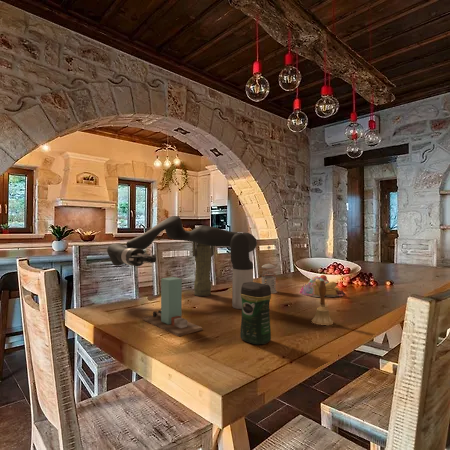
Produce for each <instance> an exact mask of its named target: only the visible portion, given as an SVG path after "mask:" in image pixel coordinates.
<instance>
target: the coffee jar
mask: <svg viewBox="0 0 450 450" xmlns="http://www.w3.org/2000/svg"><path fill="white" fill-rule="evenodd" d="M271 298H272V293H271V289H270V286H269V285H267V284H262V282H261V283H260V282H255V281H253V282H246V283H243V284H242V287H241V299H242V309H241V323H240V336H239V337H240V339H241V340H242V341H244V342H247V343H250V344H252V345H265V344H268V343H269V342H270V341H271V340H272V334H271V333H272V331H271V318H270V302H271V301H270V300H271Z"/></svg>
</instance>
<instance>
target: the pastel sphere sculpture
mask: <svg viewBox="0 0 450 450" xmlns="http://www.w3.org/2000/svg"><path fill="white" fill-rule="evenodd" d="M327 277H328V276H326V275H324V274H322V275H320V276H313V277H311V279H309V281H307V284H306V283H305V284H304V283H302V286H301V288H300V290H299V294H301V293H302V295H303V296H304V295H305V296H307V297H308V296H309V297H314V298H315V297H318V298H320V294H319V285H320V282H321V281H324V283H325V286H326V294H325V297H327V298H328V297H329V298H335V297H343V296H346V293H345V292H344V290H343V289H342V290H340V289H339V287H337V286H338V284H337V282H335V281H329V280H328V278H327Z"/></svg>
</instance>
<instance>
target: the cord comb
mask: <svg viewBox="0 0 450 450" xmlns="http://www.w3.org/2000/svg"><path fill="white" fill-rule="evenodd" d="M142 321H145V322H146V323H149V324H151V325H152V326H155V327H158V328H160V329H162V330H164V331H167V332H168V333H170V334H173V335H175V336H176V337H181V336H184V335H189V334H191V333H195V332H199V331H203V327H202V326H199V325H197V324H195V323H192V322H189V321H188V319H185V318H183V317H182V315H181V316H176V317H171V324H169V325H168V324H166V323H164V322H161V310H158V311H153V312H152V315H150V316H149V315H148V316H145V317H144V316H143V317H142Z"/></svg>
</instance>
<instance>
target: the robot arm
mask: <svg viewBox="0 0 450 450" xmlns="http://www.w3.org/2000/svg"><path fill="white" fill-rule="evenodd" d="M163 231H165V235H166V236H167V238H169V240H170V239H171V240H175V241H183V242H184V241H185V242H189V243H190V242H191V243H193V242H196V244H197V243H200V244H204V245H208V246H214V247H227V248H230V261H231V262H230V263H231V265H232V282H231V283H232V287H231V288H232V291H231V292H232V293H231V294H232V298H231V299H232V301H231V304H232V306H231V307H232V308H233V309H236V310H242V299H241V287H242V284H243V283H246V282H254V263H253V262H252V261H251V259H250V253H251V252H253V251H254V250H255V249H256V248H257V245H258V241H257V239H256V237H255V235H253V234H252V233H251V232H238V231H237V232H235V231H230V230H226V229H223V228H219V227H215V226H210V225H205V224H204V225H203V224H202V225H198V226H197V227H195V228H193V229H192V230H185V229H184V227H183V222H182V218H181V217H180V216H178V215H174V216H173V215H172V216H169V217H167V218H165V219H164V220H162V221H160V222H159V223H157V224H156V225H154V226H153V227H152V228H150V229H149V230H147V231H145V232H144V233H142V234H140V235H138V236H136V237H134V238H131V239H130V240H128V241H126V246H125V245H123V244H121V243H118V242H115V243H111V244H110V245H108V247H107V249H106V252H107V255H108V257H109V259H110V261H111V263H112V265H113V266H116V267H117V266H118V267H119V266H122V265H124V264H126V265H128V266H133V267H141V266H143V265H144V264H147V263H149V264H150V263H154V264H155V263H157V254H156V253H154V254H152V255H150V254H148V253H146V252H145V251H144V250H145V249H147V248H148V247H150V246H151V244H153V242H154V241H155V239H156V238H157V237H158V236H159V234H161V233H162V232H163Z"/></svg>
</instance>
